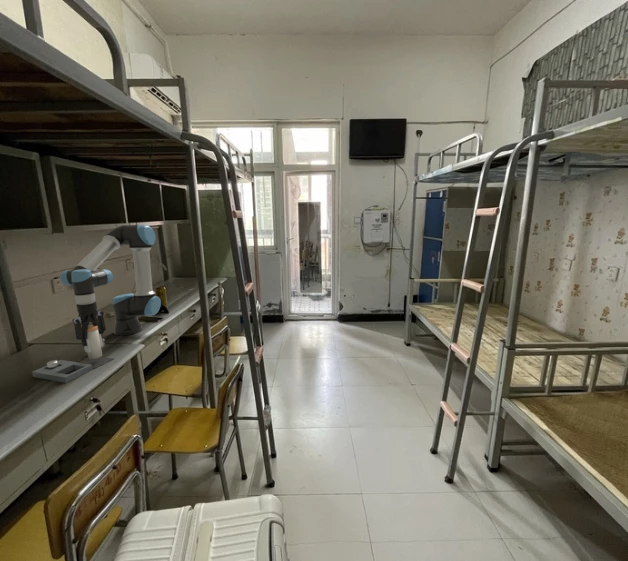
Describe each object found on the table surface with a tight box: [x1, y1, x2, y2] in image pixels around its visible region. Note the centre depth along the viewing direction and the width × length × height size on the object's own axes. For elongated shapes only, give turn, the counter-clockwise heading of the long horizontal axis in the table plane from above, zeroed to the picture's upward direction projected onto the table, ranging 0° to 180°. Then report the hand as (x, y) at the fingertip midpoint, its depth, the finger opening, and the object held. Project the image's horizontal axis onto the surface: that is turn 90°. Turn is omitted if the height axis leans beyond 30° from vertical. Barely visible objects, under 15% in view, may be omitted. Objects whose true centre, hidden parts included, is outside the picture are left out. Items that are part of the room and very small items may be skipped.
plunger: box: [46, 359, 59, 370], centre depth 143 cm, size 4×4×4 cm
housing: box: [32, 359, 94, 384], centre depth 142 cm, size 12×20×2 cm, turn 73°
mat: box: [83, 356, 115, 370], centre depth 152 cm, size 10×10×1 cm
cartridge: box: [86, 324, 103, 360], centre depth 149 cm, size 6×6×15 cm
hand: (94, 348), depth 150 cm, fingers closed on cartridge, 6 cm apart
